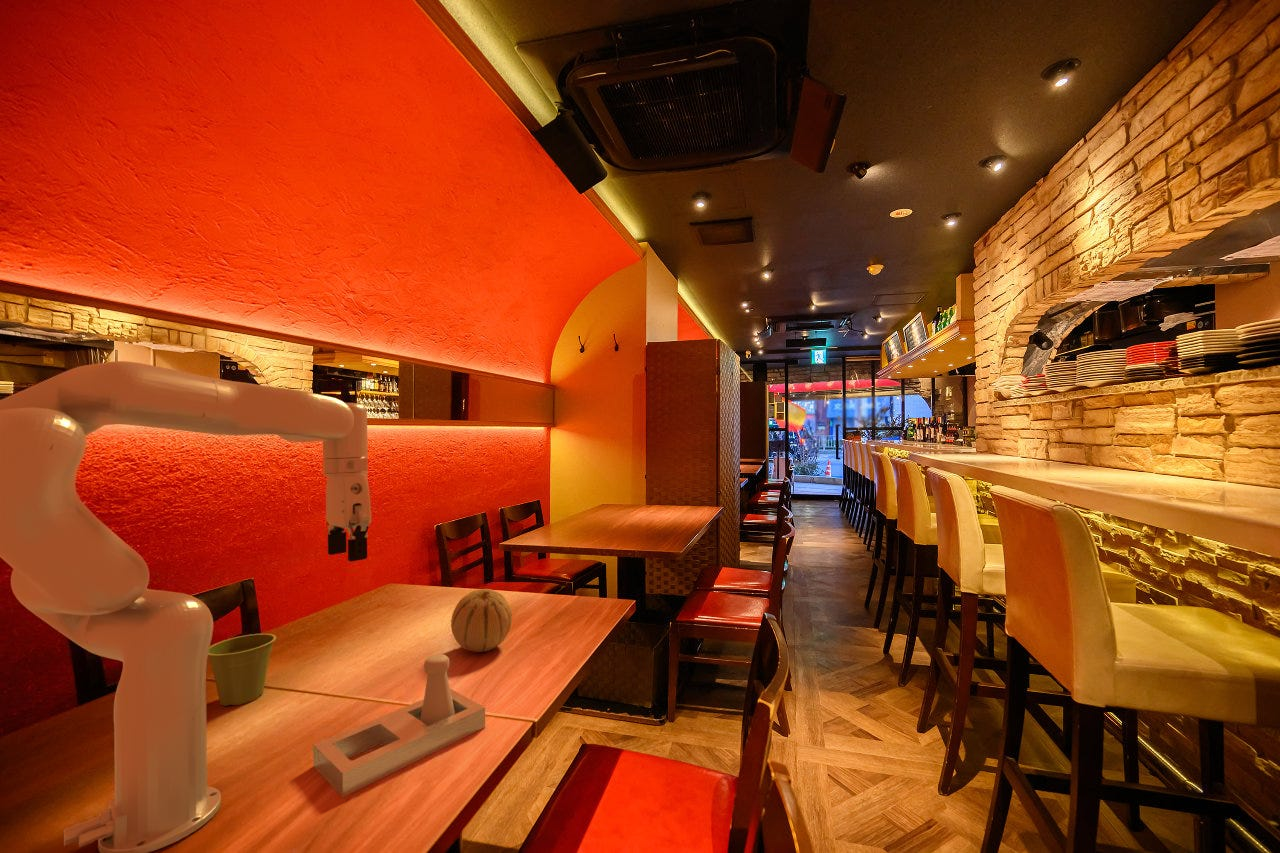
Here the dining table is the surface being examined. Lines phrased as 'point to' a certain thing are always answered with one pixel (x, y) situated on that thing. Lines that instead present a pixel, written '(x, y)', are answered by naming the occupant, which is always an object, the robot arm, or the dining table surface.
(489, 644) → the cantaloupe
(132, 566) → the robot arm
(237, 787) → the dining table surface
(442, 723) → the beige compartment tray
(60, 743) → the dining table surface
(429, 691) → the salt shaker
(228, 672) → the plant pot
